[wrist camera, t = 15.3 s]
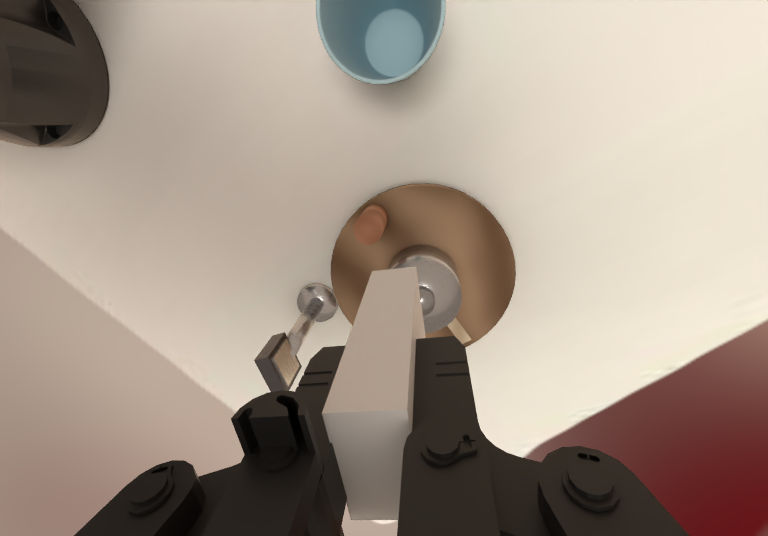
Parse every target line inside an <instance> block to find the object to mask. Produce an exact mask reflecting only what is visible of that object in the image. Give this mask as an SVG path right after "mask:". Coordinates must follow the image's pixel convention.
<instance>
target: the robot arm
mask: <svg viewBox="0 0 768 536" xmlns="http://www.w3.org/2000/svg"><path fill="white" fill-rule="evenodd" d="M107 96H108V78H107V70H106V65H105V60H104V57H103V53H102V50H101V47H100V45H99V42H98V40H97V38H96V36H95V33H94V31H93V30H92V28H91V26H90V24H89V23H88V21H87V19H86V18H85V16H84V15H83V13H82V12H81V11H80V9H79V8H78V7H77V5H76V4H75V3H74V2H73V1H72V0H0V140H3V141H7V142H11V143H15V144H19V145H24V146H30V147H57V146H68V145H72V144H75V143H78V142H80V141H82V140H83V139H85V138H86V137H88V136H89V135H90V134H91V133H92V132H93V131H94V130H95V129H96V127H97V126H98V124H99V123H100V121H101V119H102V117H103V114H104V111H105V108H106V103H107ZM231 420H232V423H233V425H234V428H235V431H236V433H237V436H238V438H239V441H240V443H241V446H242V449H243V451H244V454H245V455H244V457H243V459H242V461H241V463H239V464H237V465H234V466H232V467H229V468H225V469H222V470H219V471H216V472H212V473H209V474H206V475H203V476H199V477H198V476H197V474H196V472H195V469H194V467H193V466H192V465H191V464H189V463H187V462H186V461H169V462H166V463H162V464H159V465H156V466H155V467H153V468H151V469H149V470H147V471H145V472H144V473H142V474H140V475H139V476H138V477H137V478H136V479H134V480H133V481H132V482H130V483H129V484H128V485H127V486H125V487H124V488H123V489H122V490H121V491H120V492H119V493H118V494H117V495H116V496H115V497H114V498H113V499H112V500H111V501H110V502H109V503H108V504H107V505H106V506H105V507H103V508H102V509H101V510H100V511H99V512H98V513H97V514H96V515H95V516H94V517H93V518H92V519H91V520H90V521H89V522H88V523H87V524H86V525H85V526H84V527H83V528H82V529H81V530H80V531H78V532H77V533H76V534H75V535H74V536H344V533H343V530H342V526H341V525H342V519H343V515H344V510H345V505H346V503H347V507H348V510H349V514H350V518H351V520H398V532H397V536H689V535H688V534H687V532H686V531H685V530H684V529H683V528H682V527H681V526H680V525H679V523H678V522H677V521H676V520H675V519H674V518H673V517H672V516H671V515H670V513H669V512H668V511H667V510H666V509H665V508H664V507H663V506H662V505H661V503H660V502H659V501H658V500H657V499H656V498H655V497H654V495H653V494H652V493H651V492H650V491H649V490H648V489H647V488H646V486H645V485H644V484H643V483H642V482H641V481H640V480H639V479H638V478H637V476H636V475H635V474H634V473H633V472H631V471H630V470H629V469H628V468H627V467H626V466H624V465H623V464H622V463H621V462H620V461H619V460H617V459H615V458H613V457H611V456H609V455H607V454H605V453H603V452H601V451H599V450H594V449H590V448H585V447H581V446H576V447H562V448H559V449H557V450H555V451H553V452H551V453H549V454H548V455H547V456H546V457H545V458H544V460H543V461H542V462H537V461H533V460H529V459H525V458H521V457H518V456H515V455H512V454H509V453H506V452H505V451H503V450H501V449H499V448H498V447H496V446H495V445H493V444H492V443H491V442H490V441H489V440H488V439H487V438H486V437H485V435H484V434H483V433H482V431H481V429H480V426H479V423H478V419H477V413H476V408H475V402H474V396H473V390H472V385H471V379H470V374H469V367H468V362H467V356H466V350H465V346H464V345H463V344H462V343H461V342H460V341H459V340H458V339H457V338H456V337H455V336H446V337H433V338H426V336H425V328H424V321H423V314H422V306H421V299H420V291H419V284H418V277H417V269H416V266H415V267H406V268H396V269H387V270H378V271H372V273H371V276H370V278H369V281H368V284H367V287H366V290H365V293H364V295H363V298H362V301H361V304H360V307H359V310H358V312H357V315H356V318H355V321H354V324H353V327H352V329H351V332H350V335H349V338H348V341H347V344H346V346H335V347H323V348H322V349H321V350H320V351H319V352H318V353H317V354H316V355H315V356H314V357H313V358H311V359H310V362H309V364H308V366H307V368H306V370H305V372H304V376H302V378H301V380H300V382H299V387H297V389H296V391H295V392H293V391H283V390H280V391H275V392H270V393H266V394H264V395H261V396H259V397H257V398H254V399H252V400H251V401H250V402H248V403H247V404H245V405H244V406H242V407H241V408H240V409H239V410H238V411H237V412H236V414H235V415H234V416H233V417H232V418H231Z"/></svg>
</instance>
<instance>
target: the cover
mask: <svg viewBox="0 0 768 536" xmlns="http://www.w3.org/2000/svg"><path fill="white" fill-rule="evenodd" d="M415 266H416V269H417V277H418V284H419V291H420V299H421V306H422V314H423V321H424V328H425V333H431V332H435V331H438V330H440V329H442V328H444V327H446V326H447V325H448V324H450V323H451V322H452V321H453V320H454V318H455V317H456V316H457V314H458V312H459V310H460V307H461V302H462V294H461V288H460V283H459V277H458V272H457V268H456V266H455V263H454V262H453V260H452V259H451V257H450V256H449V255H448V254H447V253H445V252H444V251H443V250H441V249H439V248H437V247H434V246H431V245H425V244H419V245H413V246H409V247H407V248H405V249H403V250H401V251H400V252H398V253H397V254H396V255H395V256H394V257H393V259H392V260H391V262H390V264H389V266H388V269H396V268H406V267H415Z"/></svg>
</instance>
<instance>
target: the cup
mask: <svg viewBox="0 0 768 536" xmlns="http://www.w3.org/2000/svg"><path fill="white" fill-rule="evenodd" d="M316 18H317V25H318V29H319V33H320V36H321V39H322V42H323V44H324V47H325V49H326V50H327V52H328V54H329V55H330V57H331V58H332V60H333V61H334V62H335V63H336V64H337V66H338V67H339V68H340V69H342V70H343V71H344V72H345V73H347V74H348V75H349V76H351V77H353V78H355V79H357V80H359V81H362V82H365V83H370V84H389V83H394V82H398V81H401V80H405V79H407V78H408V77H410V76H411V75H412V74H414V73H415V72H416V71H417V70H418V69H419V68H420V67H421V66H422V65H423V64H424V63H425V62H426V61H427V59H428V58H429V57H430V55H431V54H432V52H433V50H434V49H435V47H436V45H437V43H438V40H439V38H440V35H441V32H442V28H443V24H444V18H445V0H316Z"/></svg>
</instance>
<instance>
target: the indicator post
mask: <svg viewBox="0 0 768 536" xmlns="http://www.w3.org/2000/svg"><path fill="white" fill-rule="evenodd" d="M297 304H298V308H299V310H300V312H301V313H302V314H301V315H300V317H299V318H298V320H297V321H296V323H295V324H294V326H293V327H292V329H291V330H290V331H289V333H288V334H287V336H286V334H285V333H281V334H277V335H273V336H272V337H271V339H270V340H269V341H268V343H267V344H266V345H265V347H264V348H263V349H262V351H261V352H260V353H259V355H258V356H257V357H256V359H255V360H254V361H255V363H256V365H257V367H258V368H259V370H260V372H261V374H262V376H263V378H264V380H265V382H266V383H267V385H268V387H269V389H270V391H271V392H275V391H280V390H283V391H289V390H290V388H291V386H292V384H293V382H294V380H295V378H296V376H297V374H298V372H299V371H300V369H301V364H300V362H299V360H298V358H297V356H296V354H297V352H298V350H299V349H300V347H301V345H302V343H303V342H304V340H305V338H306V336H307V335H308V333H309V331H310V329H311V328H312V326H313V324H314V323H315V321H317V322H322V321H326V320H328V319H330V318H331V317H332V316H333V315H334V313H335V311H336V309H337V305H338V302H337V299H336V297H335V294H334V292H333V291H332V290H331V289H330V288H328V287H327V286H325V285H322V284H310V285H308V286H306V287H305V288H303V290H302V291H301V292H300V294H299V296H298V299H297Z"/></svg>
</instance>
